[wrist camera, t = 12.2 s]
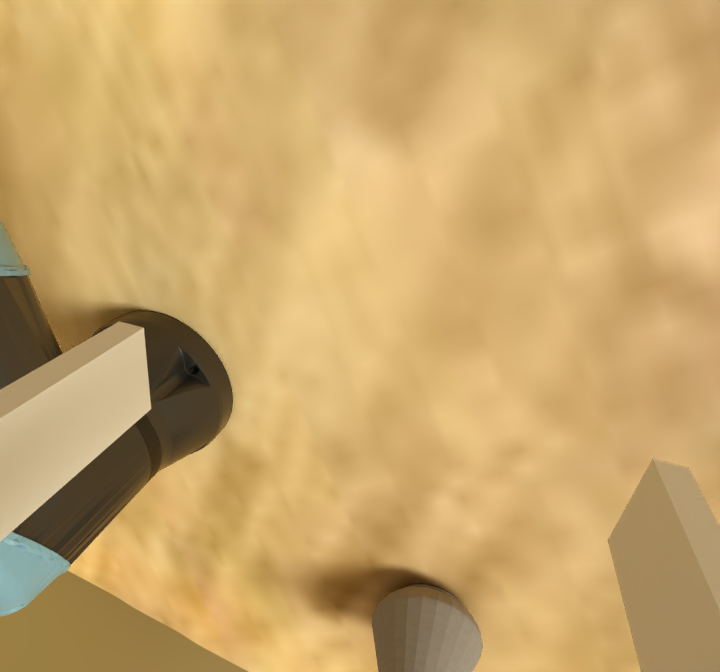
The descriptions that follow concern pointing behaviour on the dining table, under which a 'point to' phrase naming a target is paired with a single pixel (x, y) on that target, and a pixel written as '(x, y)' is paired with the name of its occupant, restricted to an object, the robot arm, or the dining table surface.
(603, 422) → the dining table surface
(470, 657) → the coffee pot
